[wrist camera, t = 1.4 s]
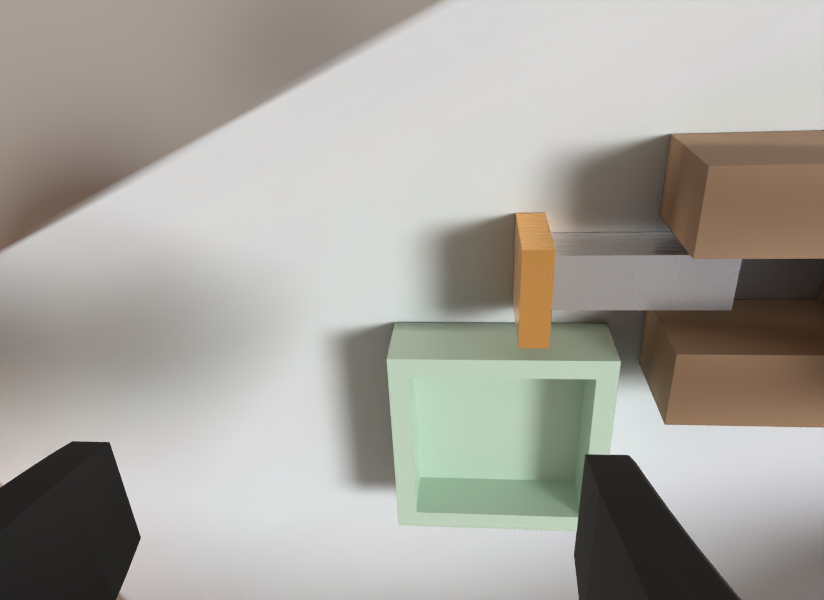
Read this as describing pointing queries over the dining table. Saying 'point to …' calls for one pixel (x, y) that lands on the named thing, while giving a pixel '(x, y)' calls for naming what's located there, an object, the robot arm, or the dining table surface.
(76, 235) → the dining table surface
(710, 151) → the socket block
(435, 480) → the tray
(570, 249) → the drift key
